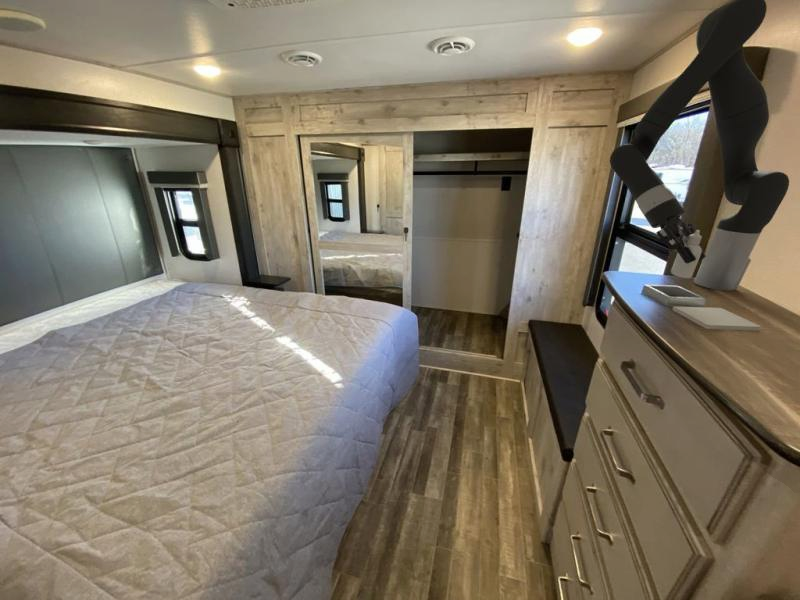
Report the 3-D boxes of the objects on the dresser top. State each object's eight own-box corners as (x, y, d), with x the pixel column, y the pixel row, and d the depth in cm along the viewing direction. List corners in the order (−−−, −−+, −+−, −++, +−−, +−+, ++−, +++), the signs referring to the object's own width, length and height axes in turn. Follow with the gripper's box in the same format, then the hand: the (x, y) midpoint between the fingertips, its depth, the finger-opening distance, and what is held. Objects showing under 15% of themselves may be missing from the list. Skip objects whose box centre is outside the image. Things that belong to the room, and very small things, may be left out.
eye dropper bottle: (691, 274, 85) (709, 229, 80) (690, 279, 81) (709, 233, 76) (670, 271, 87) (686, 227, 82) (669, 276, 83) (686, 230, 78)
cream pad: (719, 311, 80) (721, 308, 80) (759, 330, 71) (761, 326, 71) (672, 309, 80) (673, 306, 80) (706, 328, 71) (707, 324, 71)
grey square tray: (674, 293, 91) (677, 285, 90) (703, 307, 82) (707, 298, 81) (641, 292, 91) (644, 284, 90) (666, 306, 82) (669, 297, 81)
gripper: (660, 198, 79) (700, 256, 74) (687, 196, 85) (726, 249, 80) (631, 216, 85) (666, 271, 81) (658, 213, 92) (692, 264, 87)
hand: (696, 260), depth 81 cm, fingers closed on eye dropper bottle, 4 cm apart
